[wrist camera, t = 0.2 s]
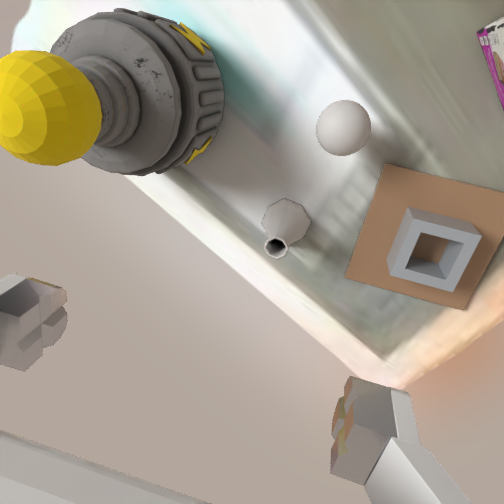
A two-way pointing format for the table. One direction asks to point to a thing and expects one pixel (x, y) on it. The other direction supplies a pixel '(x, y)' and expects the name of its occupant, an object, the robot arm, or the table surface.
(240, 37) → the table surface
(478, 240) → the square peg socket base
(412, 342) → the table surface
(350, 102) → the lightbulb
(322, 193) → the table surface
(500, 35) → the candy bar box
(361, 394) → the robot arm
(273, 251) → the flask
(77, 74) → the decorative lamp
